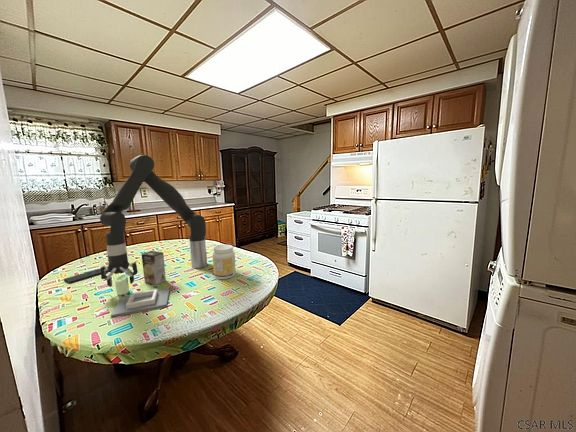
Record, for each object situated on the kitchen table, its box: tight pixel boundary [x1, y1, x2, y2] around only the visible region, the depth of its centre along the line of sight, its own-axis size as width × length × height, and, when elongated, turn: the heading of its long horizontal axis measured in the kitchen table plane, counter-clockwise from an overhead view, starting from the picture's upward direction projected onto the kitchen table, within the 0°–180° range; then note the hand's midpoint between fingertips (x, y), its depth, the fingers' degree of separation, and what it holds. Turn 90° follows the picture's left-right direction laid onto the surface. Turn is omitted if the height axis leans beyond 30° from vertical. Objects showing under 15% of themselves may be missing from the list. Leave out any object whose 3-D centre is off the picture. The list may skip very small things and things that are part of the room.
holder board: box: [110, 288, 170, 318], centre depth 104 cm, size 20×16×3 cm
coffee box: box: [141, 250, 167, 286], centre depth 125 cm, size 9×6×16 cm
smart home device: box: [63, 267, 111, 285], centre depth 134 cm, size 8×2×20 cm
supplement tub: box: [212, 244, 237, 280], centre depth 131 cm, size 12×12×17 cm
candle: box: [114, 274, 130, 296], centre depth 113 cm, size 5×5×8 cm
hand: (121, 284), depth 113 cm, fingers open, 8 cm apart
